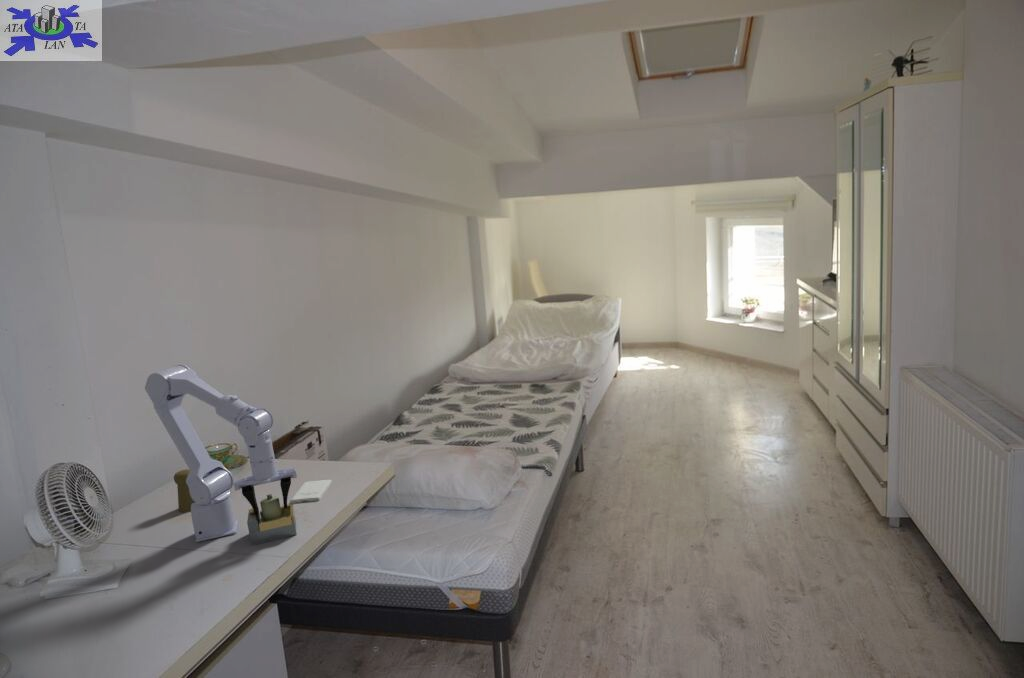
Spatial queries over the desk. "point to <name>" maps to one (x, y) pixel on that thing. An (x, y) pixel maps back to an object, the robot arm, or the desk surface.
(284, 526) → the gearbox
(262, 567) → the desk surface
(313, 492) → the external hard drive
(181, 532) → the desk surface
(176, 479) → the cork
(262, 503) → the spout can
